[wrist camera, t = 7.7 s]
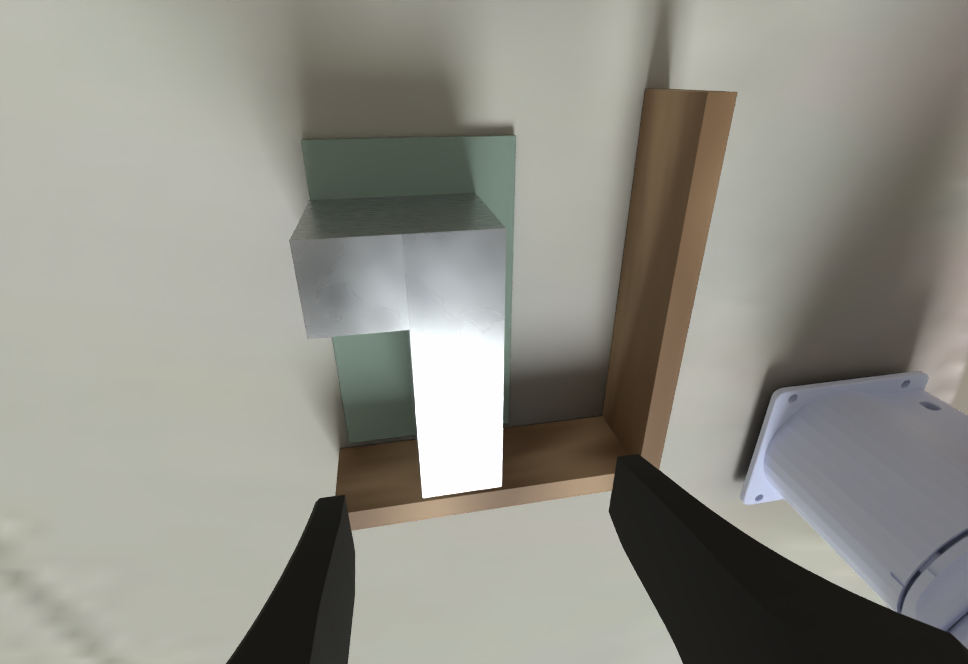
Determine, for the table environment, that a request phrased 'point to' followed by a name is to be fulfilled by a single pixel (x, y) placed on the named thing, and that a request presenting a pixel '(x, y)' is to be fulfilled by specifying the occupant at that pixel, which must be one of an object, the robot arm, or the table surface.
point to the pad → (407, 172)
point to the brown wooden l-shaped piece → (635, 344)
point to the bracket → (419, 314)
